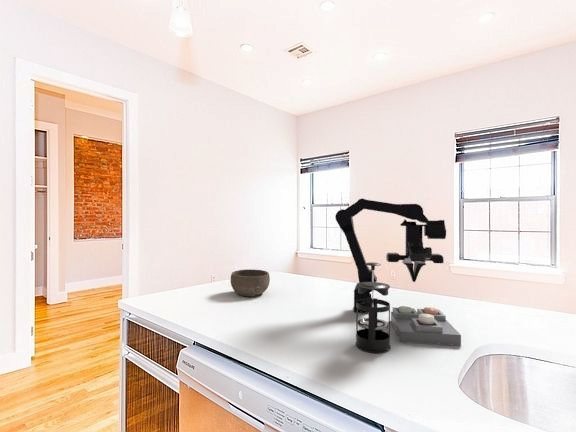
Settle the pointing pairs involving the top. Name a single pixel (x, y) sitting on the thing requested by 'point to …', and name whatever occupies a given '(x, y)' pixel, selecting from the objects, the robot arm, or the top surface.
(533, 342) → the top surface
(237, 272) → the bowl
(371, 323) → the french press
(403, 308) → the sage button
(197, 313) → the top surface
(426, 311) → the terracotta button
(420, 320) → the cream button
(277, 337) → the top surface
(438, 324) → the console
